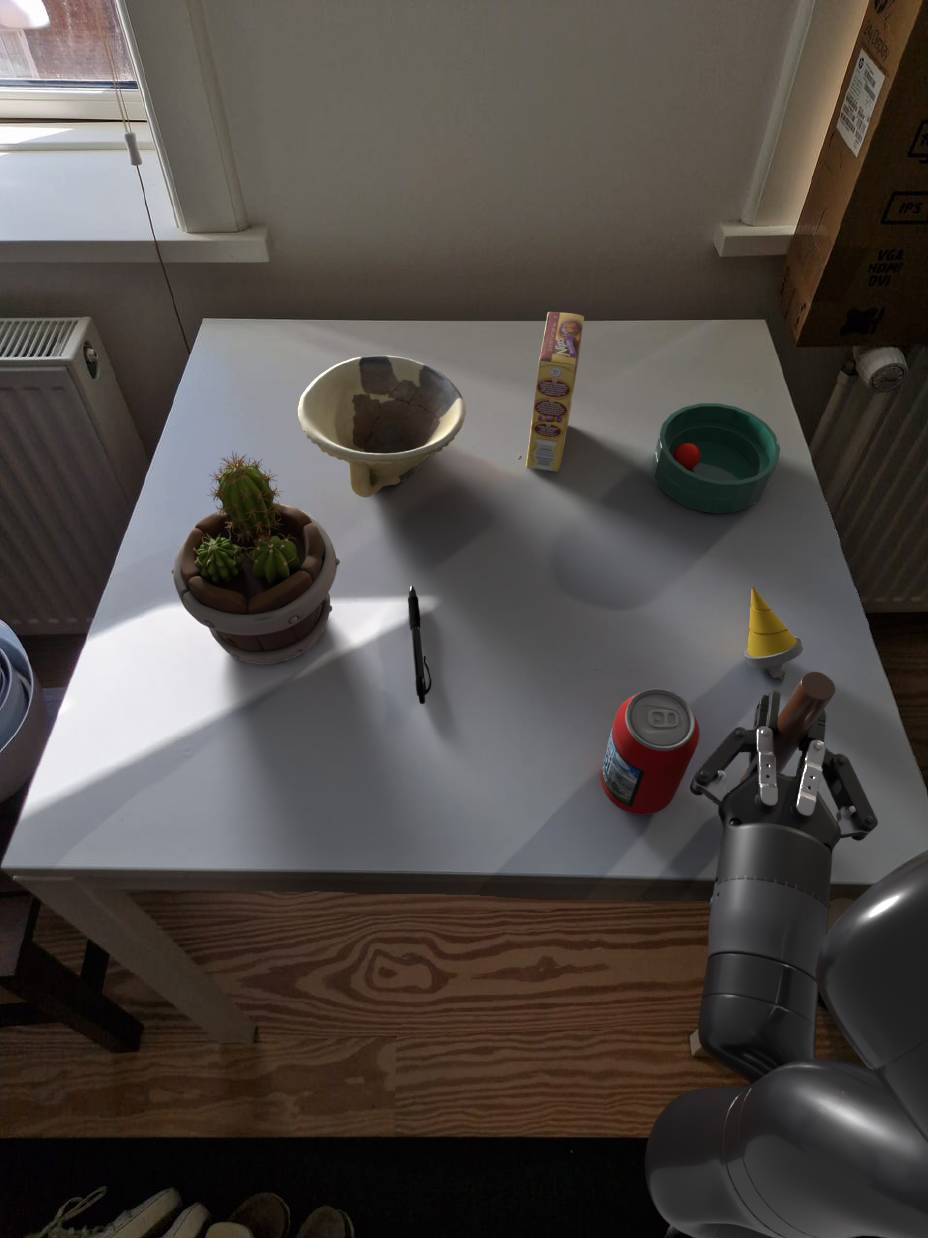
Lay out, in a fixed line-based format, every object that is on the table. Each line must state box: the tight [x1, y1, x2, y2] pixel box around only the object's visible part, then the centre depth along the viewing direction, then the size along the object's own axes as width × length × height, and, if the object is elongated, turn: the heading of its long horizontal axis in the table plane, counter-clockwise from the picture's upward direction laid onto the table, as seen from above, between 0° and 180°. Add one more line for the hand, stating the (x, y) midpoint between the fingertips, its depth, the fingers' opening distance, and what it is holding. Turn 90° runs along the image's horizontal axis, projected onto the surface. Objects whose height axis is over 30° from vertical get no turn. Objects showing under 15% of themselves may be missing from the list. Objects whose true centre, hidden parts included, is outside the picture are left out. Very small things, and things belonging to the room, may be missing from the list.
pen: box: [407, 585, 433, 705], centre depth 84 cm, size 14×2×1 cm, turn 6°
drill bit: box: [743, 586, 804, 683], centre depth 82 cm, size 5×5×10 cm
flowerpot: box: [171, 450, 341, 665], centre depth 78 cm, size 14×15×20 cm
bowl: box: [297, 355, 467, 499], centre depth 96 cm, size 18×18×10 cm
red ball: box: [673, 443, 700, 469], centre depth 98 cm, size 3×3×3 cm
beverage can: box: [600, 688, 700, 816], centre depth 71 cm, size 7×7×12 cm
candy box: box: [525, 311, 585, 473], centre depth 96 cm, size 9×4×15 cm, turn 170°
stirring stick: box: [739, 671, 836, 784], centre depth 68 cm, size 2×2×17 cm
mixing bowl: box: [651, 402, 781, 514], centre depth 97 cm, size 13×13×5 cm
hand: (791, 701), depth 68 cm, fingers closed on stirring stick, 2 cm apart
